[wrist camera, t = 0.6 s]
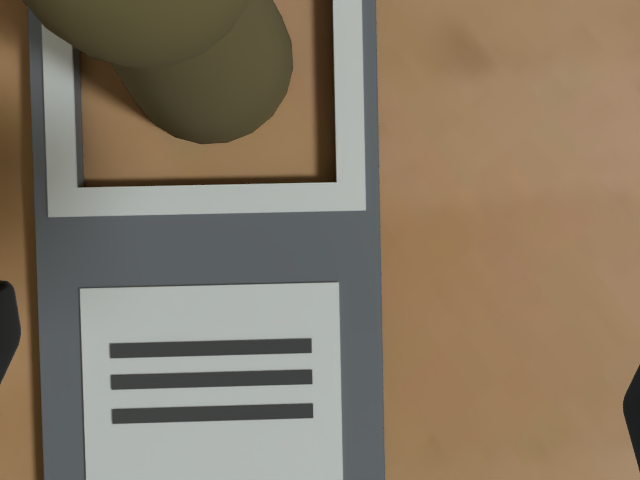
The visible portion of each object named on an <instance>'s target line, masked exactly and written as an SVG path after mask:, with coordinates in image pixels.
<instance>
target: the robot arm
mask: <svg viewBox="0 0 640 480" xmlns="http://www.w3.org/2000/svg"><path fill="white" fill-rule="evenodd" d="M20 336H21V326H20V320H19V313H18V307H17V301H16V295H15V290H14V288H13V286H12V284H10V283H9V282H8V281H1V280H0V384H1V382H2V379H3V377H4V375H5V373H6V371H7V369H8V366H9V364H10V362H11V360H12V358H13V356H14V354H15V351H16V349H17V347H18V344H19V341H20ZM623 412H624V417H625V420H626V424H627V427H628V431H629V435H630V438H631V442H632V445H633V449H634V453H635V456H636V460H637V464H638V467H639V471H640V365H639V367H638V369H637V371H636V373H635V375H634V377H633V380H632V382H631V384H630V386H629V388H628V390H627V392H626V394H625V397H624V401H623Z"/></svg>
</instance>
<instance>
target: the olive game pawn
mask: <svg viewBox="0 0 640 480" xmlns="http://www.w3.org/2000/svg"><path fill="white" fill-rule="evenodd" d="M22 1H23V2H24V3H25V4H26V5H27V7H28V8H29V9H30V10H31V11H32V13H33V14H34V15H35V16H36V17H37V19H38V20H39V21H40V22H41V23H42V24H43V26H44V27H45V28H46V29H48V30H49V31H51V32H52V33H54V34H55V35H56V36H58V37H59V38H61V39H63V40H64V41H66V42H67V43H69V44H70V45H72V46H74V47H75V48H77V49H78V50H80V51H82V52H83V53H85V54H86V55H88V56H89V57H91V58H95V59H99V60H103V61H107V62H110V63H111V65H112V67H113V68H114V70H115V71H116V73H117V74H118V76H119V77H120V79H121V80H122V82H123V84H124V85H125V87H126V88H127V90H128V91H129V93H130V94H131V96H132V97H133V99H134V101H135V102H136V103H137V105H138V106H139V107H140V108H141V109H142V111H143V112H144V113H145V114H146V115H147V117H148V118H149V119H150V120H151V121H152V123H154V124H155V125H157V126H158V127H160V128H161V129H163V130H165V131H166V132H168V133H169V134H171V135H173V136H174V137H176V138H180V139H184V140H187V141H191V142H195V143H199V144H211V143H227V142H230V141H233V140H235V139H238V138H240V137H243V136H245V135H248V134H250V133H253V132H254V131H255V130H256V129H257V128H259V127H260V126H261V125H262V124H263V123H265V122H266V121H267V120H268V119H269V118H271V117H272V116H273V114H274V113H275V111H276V110H277V108H278V107H279V105H280V103H281V102H282V100H283V99H284V97H285V95H286V94H287V90H288V86H289V82H290V78H291V74H292V70H293V58H292V43H291V39H290V36H289V34H288V31H287V29H286V26H285V24H284V21H283V19H282V16H281V14H280V13H279V11H278V9H277V7H276V5H275V3H274V2H273V0H22Z"/></svg>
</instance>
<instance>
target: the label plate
mask: <svg viewBox="0 0 640 480" xmlns="http://www.w3.org/2000/svg"><path fill="white" fill-rule="evenodd" d="M332 29H333V76H334V124H335V171H336V182H328V183H279V184H230V185H181V186H132V187H84V175H83V144H82V114H81V83H80V52H79V50H78V49H77V48H75V47H74V46H72V45H70V44H69V43H67V42H66V41H64V40H63V39H61V38H59V37H58V36H56V35H55V34H54V33H52V32H51V31H49V30H48V29H46V28H45V27H44V26H43V24H42V23H41V22H40V21H39V20H38V19H37V17H36V16H35V15H34V14H33V13H32V11H31V10H30V9H29V8H28V34H29V63H30V91H31V120H32V148H33V177H34V206H35V234H36V263H37V291H38V320H39V348H40V377H41V406H42V434H43V463H44V480H385V454H384V401H383V349H382V297H381V244H380V192H379V140H378V87H377V35H376V0H332Z"/></svg>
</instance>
